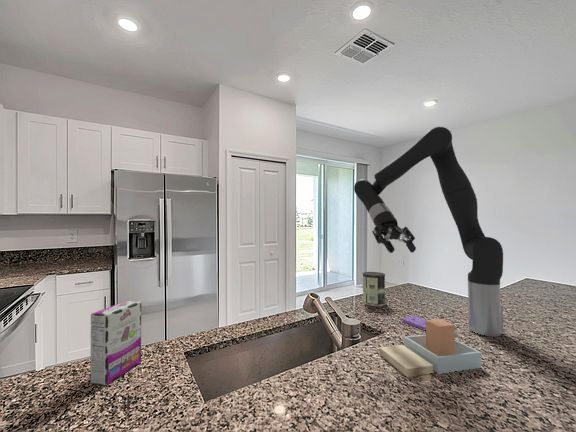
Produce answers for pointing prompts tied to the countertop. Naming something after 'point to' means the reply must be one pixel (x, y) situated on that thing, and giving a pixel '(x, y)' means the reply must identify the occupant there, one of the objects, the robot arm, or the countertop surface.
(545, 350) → the countertop surface
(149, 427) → the countertop surface
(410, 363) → the block
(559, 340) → the countertop surface
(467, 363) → the square frame
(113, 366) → the candy bar box
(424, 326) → the sponges
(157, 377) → the countertop surface
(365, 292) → the coffee can
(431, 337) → the terracotta box
